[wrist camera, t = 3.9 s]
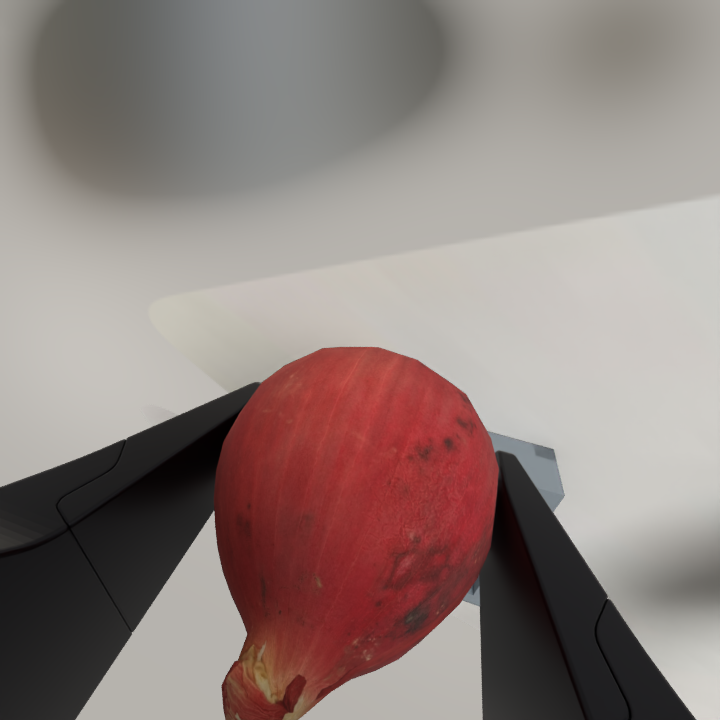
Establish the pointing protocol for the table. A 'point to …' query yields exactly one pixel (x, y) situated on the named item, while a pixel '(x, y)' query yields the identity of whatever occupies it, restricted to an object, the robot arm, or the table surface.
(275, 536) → the onion
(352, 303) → the table surface
